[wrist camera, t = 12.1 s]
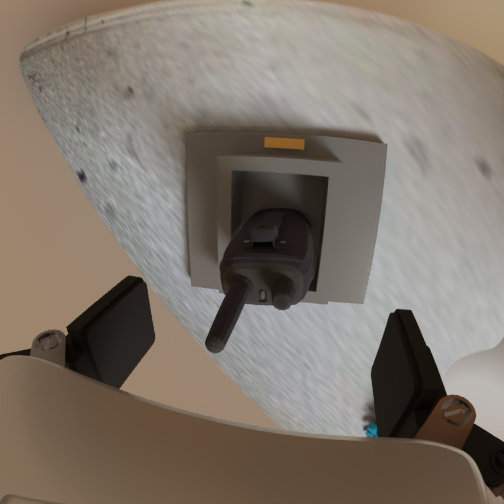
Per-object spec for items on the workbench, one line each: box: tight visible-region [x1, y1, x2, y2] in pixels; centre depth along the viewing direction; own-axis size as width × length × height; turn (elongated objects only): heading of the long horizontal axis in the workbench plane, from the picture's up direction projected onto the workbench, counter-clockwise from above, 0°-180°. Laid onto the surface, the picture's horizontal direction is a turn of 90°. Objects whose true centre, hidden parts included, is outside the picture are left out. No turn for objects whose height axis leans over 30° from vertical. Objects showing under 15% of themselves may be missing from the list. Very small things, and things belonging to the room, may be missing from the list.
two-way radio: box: [205, 208, 316, 353], centre depth 17 cm, size 6×4×15 cm
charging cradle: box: [187, 132, 387, 304], centre depth 23 cm, size 16×14×4 cm
